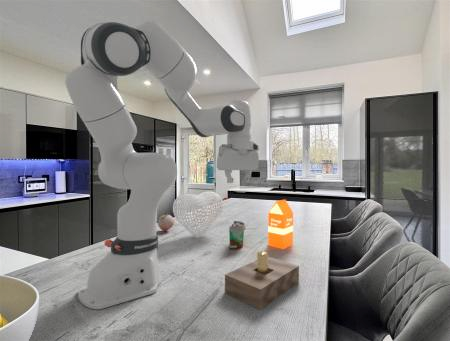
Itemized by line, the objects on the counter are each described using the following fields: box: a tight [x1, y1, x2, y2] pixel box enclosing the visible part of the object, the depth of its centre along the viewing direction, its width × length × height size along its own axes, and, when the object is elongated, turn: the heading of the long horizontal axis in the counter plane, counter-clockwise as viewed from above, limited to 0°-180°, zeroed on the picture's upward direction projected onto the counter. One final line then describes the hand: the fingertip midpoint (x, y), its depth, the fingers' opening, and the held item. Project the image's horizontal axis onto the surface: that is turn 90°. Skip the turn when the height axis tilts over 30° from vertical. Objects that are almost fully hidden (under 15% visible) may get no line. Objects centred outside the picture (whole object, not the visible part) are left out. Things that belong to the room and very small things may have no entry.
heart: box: [172, 190, 224, 239], centre depth 122 cm, size 28×16×22 cm, turn 140°
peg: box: [256, 251, 269, 275], centre depth 72 cm, size 3×3×10 cm
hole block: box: [224, 256, 300, 310], centre depth 72 cm, size 20×12×5 cm, turn 137°
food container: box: [228, 220, 246, 251], centre depth 109 cm, size 12×6×10 cm, turn 168°
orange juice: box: [267, 199, 294, 250], centre depth 112 cm, size 8×9×20 cm
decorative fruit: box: [157, 212, 175, 232], centre depth 133 cm, size 9×8×10 cm
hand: (238, 182), depth 93 cm, fingers open, 8 cm apart
